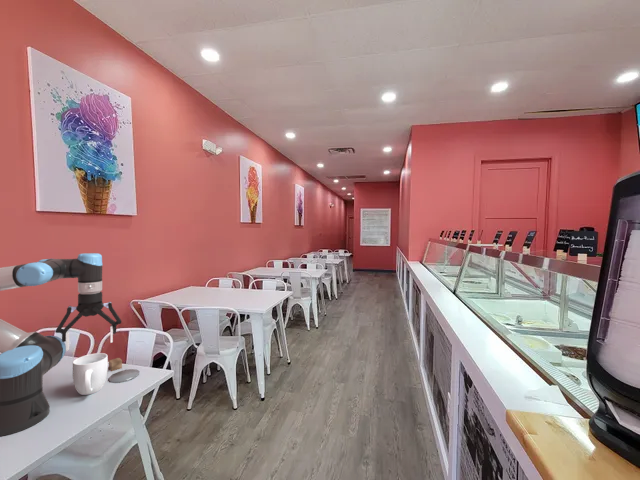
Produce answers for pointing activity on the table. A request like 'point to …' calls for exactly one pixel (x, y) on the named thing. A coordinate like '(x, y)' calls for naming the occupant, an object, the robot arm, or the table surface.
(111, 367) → the walnut cube
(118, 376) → the coaster
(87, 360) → the mug
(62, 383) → the table surface
